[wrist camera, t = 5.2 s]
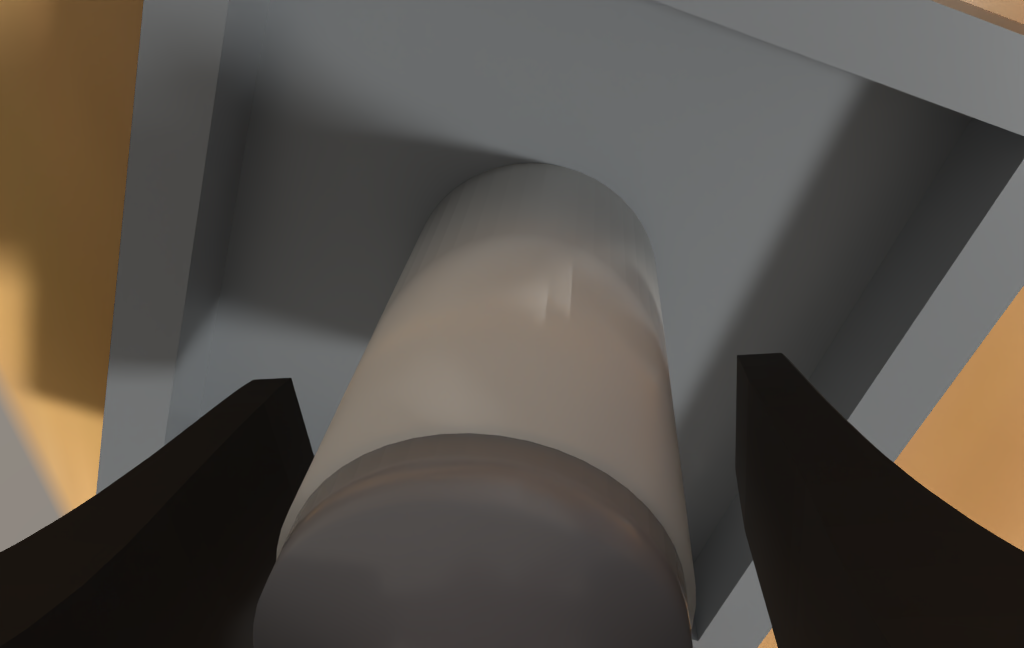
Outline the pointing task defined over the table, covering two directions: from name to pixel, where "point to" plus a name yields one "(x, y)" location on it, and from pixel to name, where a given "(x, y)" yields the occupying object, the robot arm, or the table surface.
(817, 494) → the robot arm
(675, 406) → the tray
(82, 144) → the table surface
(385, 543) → the cylinder
